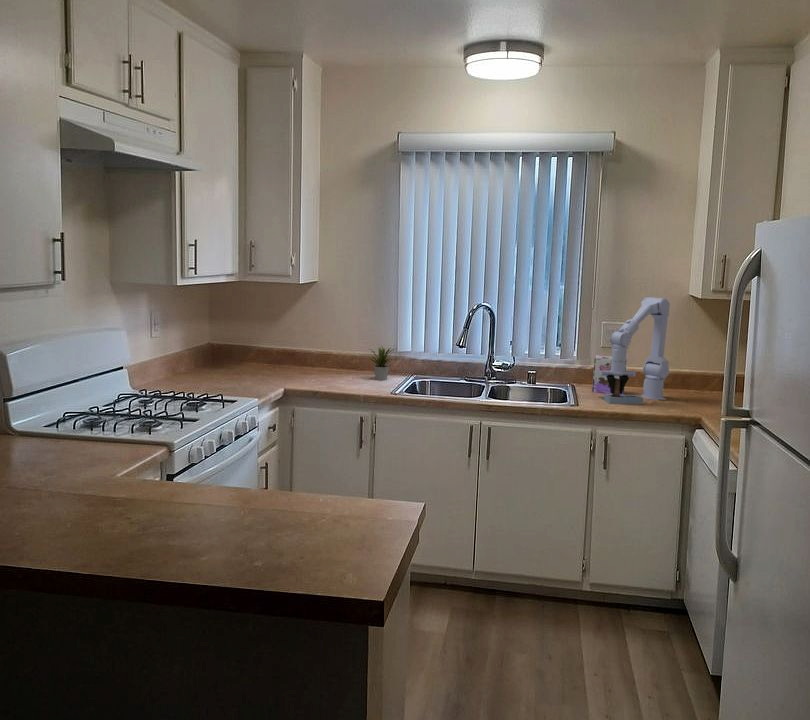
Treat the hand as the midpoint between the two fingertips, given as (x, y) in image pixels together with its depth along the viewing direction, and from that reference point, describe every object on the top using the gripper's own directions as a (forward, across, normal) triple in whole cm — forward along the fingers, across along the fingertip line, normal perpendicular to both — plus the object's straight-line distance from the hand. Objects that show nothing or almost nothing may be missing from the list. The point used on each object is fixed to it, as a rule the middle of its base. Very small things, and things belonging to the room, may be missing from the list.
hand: (616, 393), depth 335 cm
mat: (+4, +1, +8) cm, 9 cm away
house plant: (+4, -95, +45) cm, 105 cm away
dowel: (+3, 0, 0) cm, 3 cm away
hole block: (+4, +3, 0) cm, 5 cm away
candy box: (+4, +4, +23) cm, 24 cm away
